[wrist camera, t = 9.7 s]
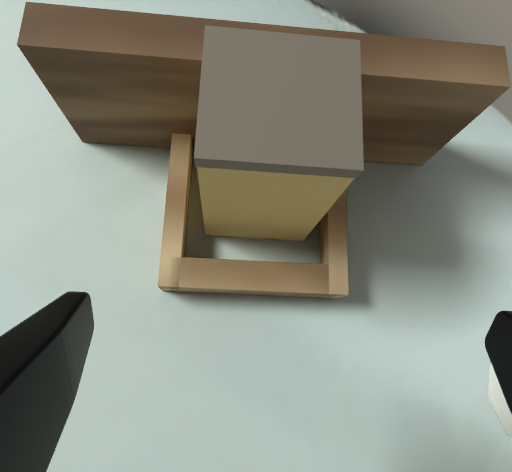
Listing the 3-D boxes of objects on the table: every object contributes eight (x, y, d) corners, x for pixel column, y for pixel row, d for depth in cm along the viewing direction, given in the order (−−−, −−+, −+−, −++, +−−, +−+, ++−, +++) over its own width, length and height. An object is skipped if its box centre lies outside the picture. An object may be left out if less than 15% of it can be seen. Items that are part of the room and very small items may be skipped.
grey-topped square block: (304, 241, 23) (363, 170, 14) (204, 236, 23) (193, 157, 13) (305, 158, 25) (360, 40, 15) (210, 151, 24) (204, 24, 15)
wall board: (431, 302, 23) (537, 281, 15) (60, 286, 22) (-28, 254, 14) (419, 135, 26) (504, 46, 18) (87, 110, 24) (26, 1, 17)
